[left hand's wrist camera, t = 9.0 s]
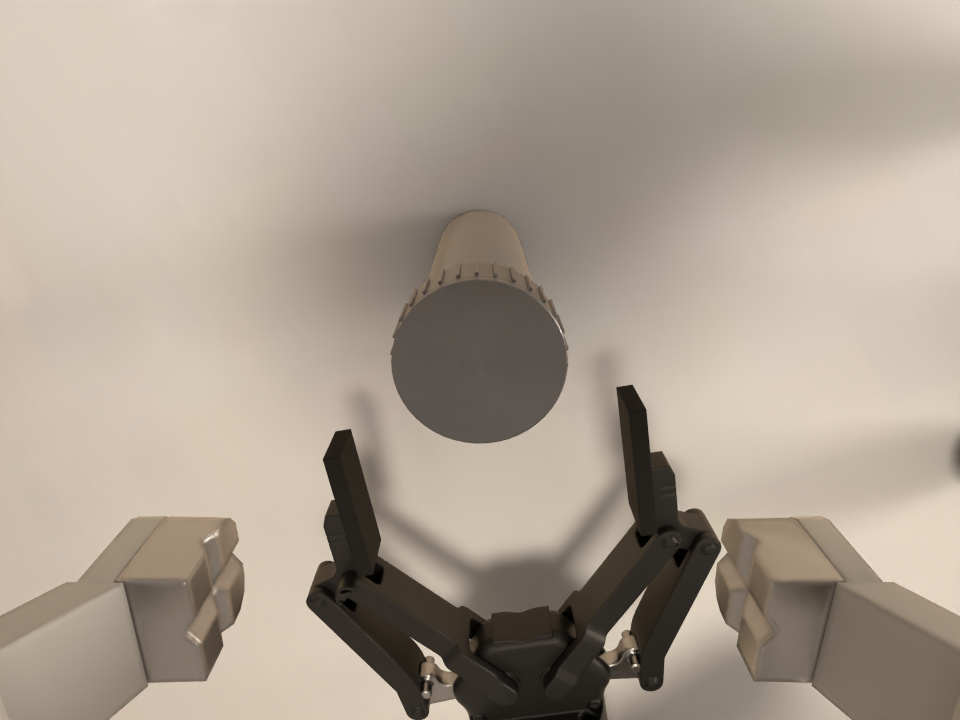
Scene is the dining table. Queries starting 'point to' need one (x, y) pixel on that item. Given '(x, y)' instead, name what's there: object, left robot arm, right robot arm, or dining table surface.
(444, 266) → the grey cylinder
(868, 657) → the left robot arm
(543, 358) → the lid
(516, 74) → the dining table surface
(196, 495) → the dining table surface
